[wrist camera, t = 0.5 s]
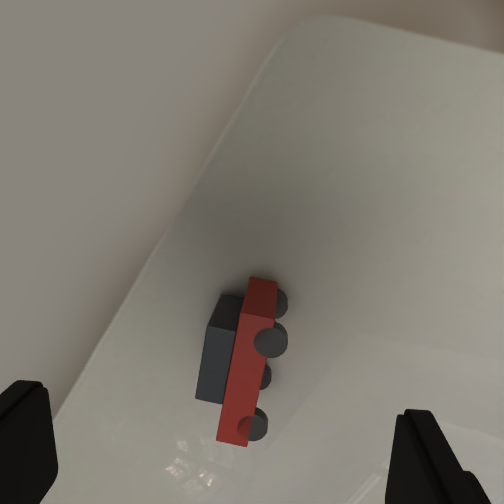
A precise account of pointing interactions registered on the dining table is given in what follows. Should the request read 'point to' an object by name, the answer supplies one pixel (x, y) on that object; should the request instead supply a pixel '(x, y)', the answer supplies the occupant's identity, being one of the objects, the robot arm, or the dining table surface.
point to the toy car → (242, 358)
